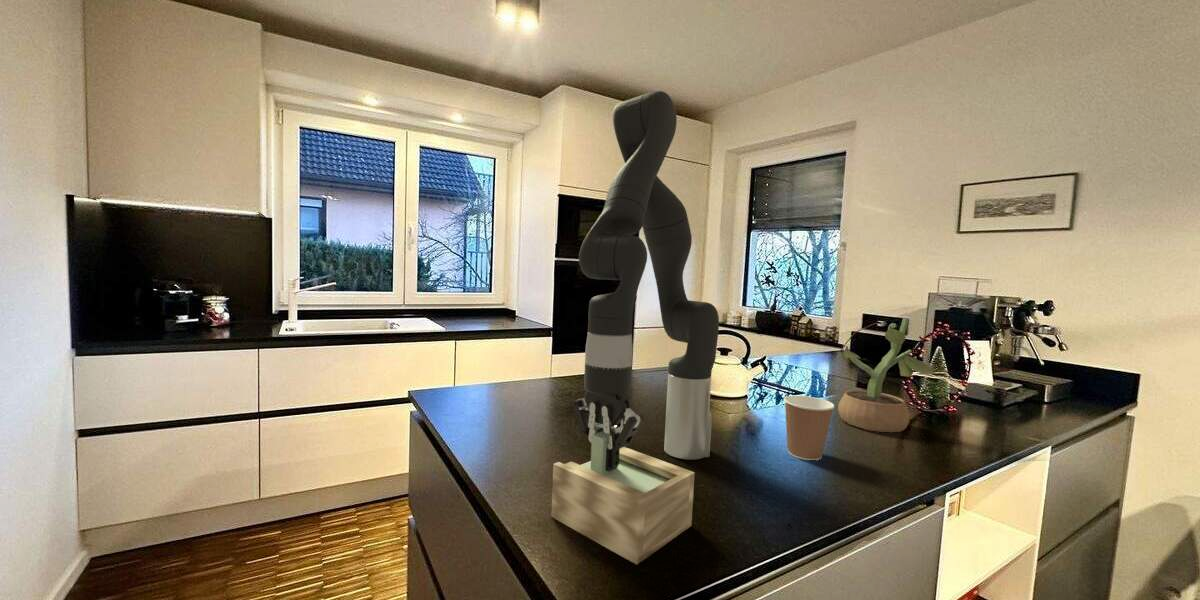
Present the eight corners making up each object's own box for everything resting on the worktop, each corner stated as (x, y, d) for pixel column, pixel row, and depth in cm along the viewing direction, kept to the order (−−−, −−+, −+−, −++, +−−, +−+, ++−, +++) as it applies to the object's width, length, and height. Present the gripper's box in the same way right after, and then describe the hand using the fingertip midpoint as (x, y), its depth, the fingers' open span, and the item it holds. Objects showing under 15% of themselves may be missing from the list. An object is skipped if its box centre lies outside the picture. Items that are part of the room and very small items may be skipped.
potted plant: (820, 416, 136) (828, 311, 134) (870, 413, 141) (879, 312, 139) (889, 446, 114) (900, 321, 112) (945, 441, 120) (956, 322, 118)
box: (691, 525, 75) (694, 472, 74) (636, 564, 64) (639, 503, 64) (609, 488, 86) (611, 442, 85) (551, 516, 76) (553, 463, 75)
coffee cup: (830, 451, 109) (834, 399, 108) (830, 468, 100) (835, 411, 99) (781, 442, 113) (785, 393, 113) (778, 457, 104) (782, 403, 103)
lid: (674, 486, 75) (676, 442, 74) (633, 510, 67) (635, 461, 66) (606, 459, 84) (607, 420, 83) (563, 477, 76) (565, 434, 76)
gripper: (658, 365, 74) (652, 473, 76) (592, 352, 84) (588, 449, 85) (628, 372, 69) (622, 488, 70) (561, 357, 78) (557, 460, 79)
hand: (603, 466), depth 77 cm, fingers closed on lid, 2 cm apart
